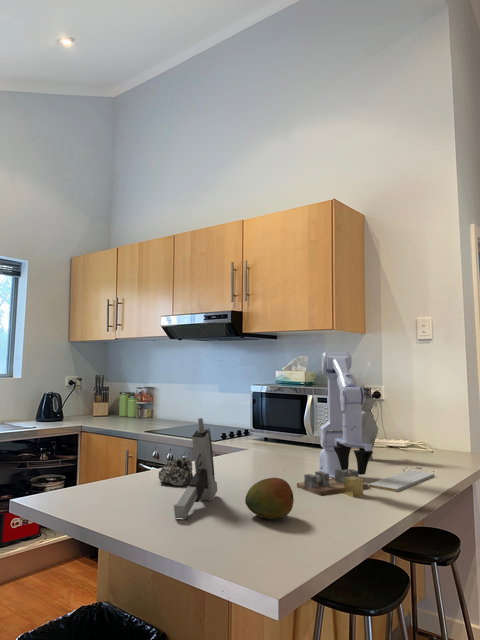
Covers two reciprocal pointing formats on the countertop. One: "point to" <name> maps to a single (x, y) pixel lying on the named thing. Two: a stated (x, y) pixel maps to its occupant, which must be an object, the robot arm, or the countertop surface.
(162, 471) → the rock
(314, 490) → the shaft base
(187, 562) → the countertop surface
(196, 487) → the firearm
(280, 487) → the fruit
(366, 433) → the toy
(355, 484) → the block
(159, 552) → the countertop surface
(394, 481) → the baseboard molding
